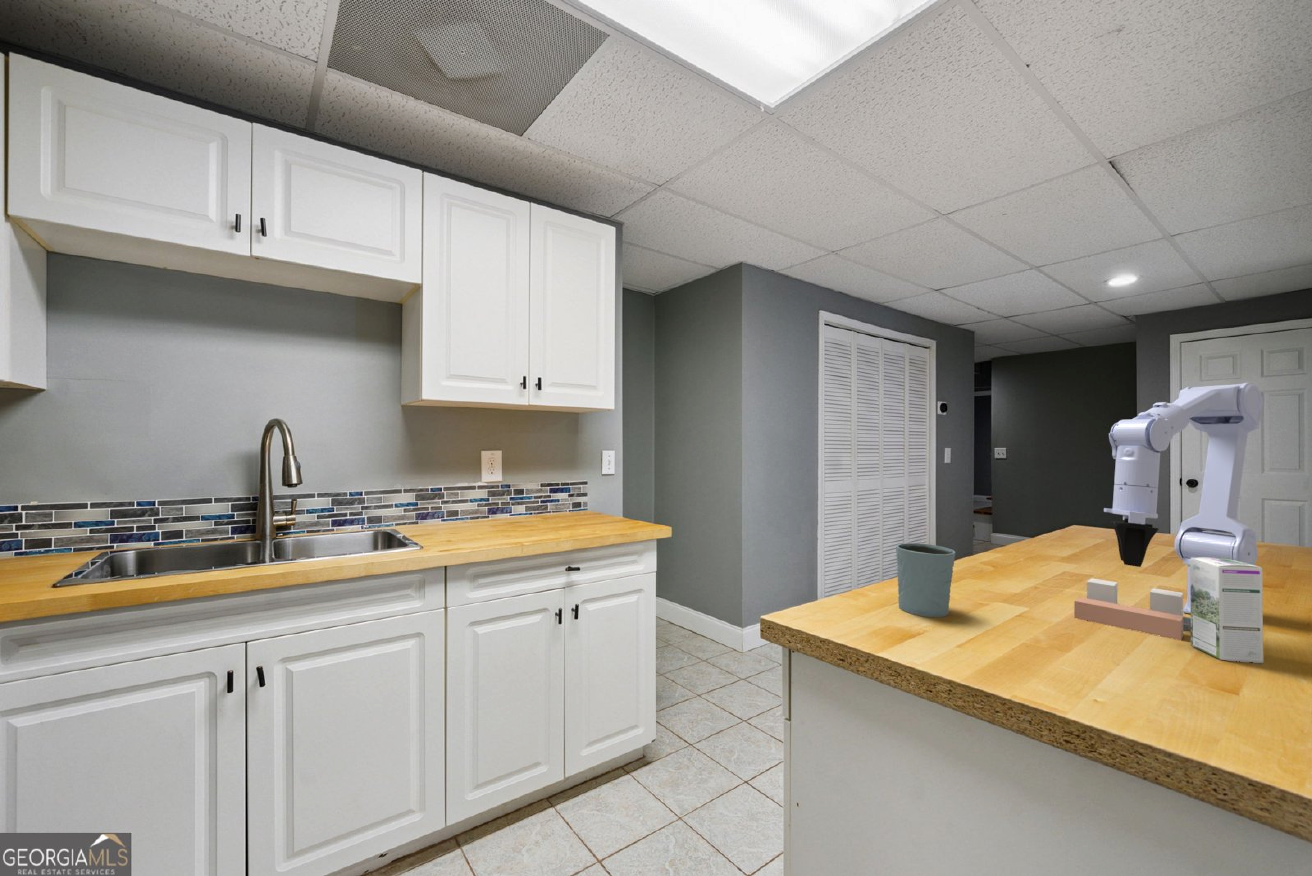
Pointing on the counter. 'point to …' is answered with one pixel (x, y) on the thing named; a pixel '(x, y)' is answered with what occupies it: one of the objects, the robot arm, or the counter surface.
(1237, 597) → the syrup box
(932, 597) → the grey green cup
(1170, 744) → the counter surface
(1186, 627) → the arch base
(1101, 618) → the beam
